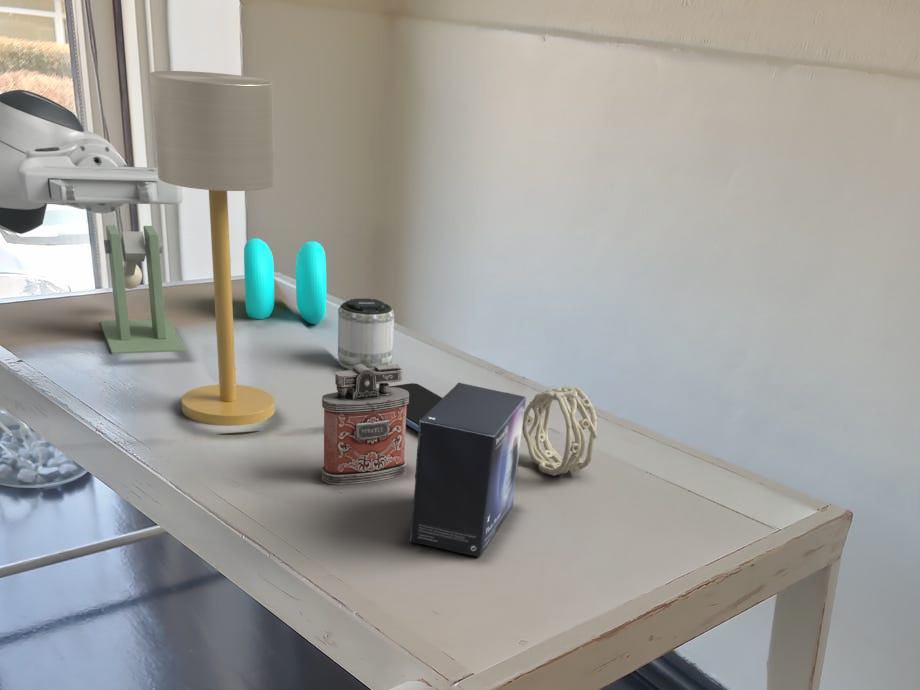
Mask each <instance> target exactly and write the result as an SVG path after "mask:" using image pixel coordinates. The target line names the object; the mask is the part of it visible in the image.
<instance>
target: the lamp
mask: <svg viewBox="0 0 920 690" xmlns="http://www.w3.org/2000/svg"><path fill="white" fill-rule="evenodd" d="M149 76H150V77H149V79H150V89H151V102H152V103H151V104H152V114H153V115H152V117H153V128H154V129H153V130H154V141H155V154H156V165H157V167H156V168H158V178H159V179H160V180H161V181H163V182H166V183H169V184H172V185H176V186H182V188H189V189H195V190H205V191H208V204H209V205H208V206H209V222H210V223H209V225H210V240H211V242H210V243H211V258H212V276H213V277H212V278H213V292H214V295H213V296H214V311H215V313H214V315H215V329H216V333H215V334H216V348H217V349H216V350H217V351H216V352H217V366H218V367H217V369H218V382H219V383H218V384H210V385H203V386H199V387H195V388H193V389H190V390H188V391H186V392H185V393H184V394H183V395H182V396H181V398H180V401H181V412H182V413H183V414H184V416H185V417H187V418H189V419H190V420H192V421H195V422H198V423H202V424H207V425H214V426H224V427H227V426H229V427H230V426H231V427H234V426H247V425H253V424H256V423H260V422H265V421H266V420H268V419H269V418H271V417H272V416H273V415H274V414H275V412H276V400H275V397H274V396H273V395H272V394H271V393H269V392H268V391H266V390H264V389H261V388H257V387H254V386H249V385H245V384H244V385H243V384H237V376H236V374H237V373H236V354H235V353H236V352H235V335H234V334H235V331H234V311H233V308H234V307H233V289H232V268H231V267H232V266H231V265H232V264H231V246H230V245H231V244H230V243H231V242H230V224H229V222H230V221H229V201H228V200H229V199H228V192H248V191H260V190H267V189H270V188H272V187H274V186H275V185H276V172H275V169H276V168H275V162H276V161H275V125H274V123H275V122H274V121H275V120H274V119H275V117H274V83H273V81H271V80H268V79H266V78H265V79H264V78H259V77H253V76H246V75H239V74H230V73H218V72H209V71H207V72H205V71H191V70H157V71H156V70H155V71H151V72H150V73H149ZM258 432H259V430H251V431H239V432H238V431H237V432H224V433H223V432H222V433H221V432H220V433H217V436H220V435H221V436H242V435H249V434H255V433H258Z"/></svg>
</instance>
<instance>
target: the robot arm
mask: <svg viewBox="0 0 920 690" xmlns="http://www.w3.org/2000/svg"><path fill="white" fill-rule="evenodd" d="M181 203H183V187H182V186H176V185H172V184H169V183H166V182H163V181H161V180H160V179H159V178H158V167H150V166H149V167H147V166H146V167H145V166H128V164H127V163H126V161H125V159H124V158H123V157H122V156H121V155H120V152H118V151H117V149H116V147H114V145H112V144H111V142H110V141H108V140H107V139H106V138H104V137H103V136H101V135H100V134H97V133H95V132H93V131H89V130H86V129H84V126H83V125H82V123H81V122H80V120H79V118H78V117H77V115H76V114H75V113H74V112H72V111H71V110H69V109H68V108H66V107H65V106H63V105H61V104H60V103H58V102H56V101H54V100H52V99H50V98H48V97H46V96H43V95H41V94H38V93H36V92H33V91H29V90H25V89H13V90H8V91H4V92H2V93H0V230H3V231H5V232H9V233H13V234H18V235H19V234H20V235H24V234H26V233H28V232H31V231H33V230H35V229H37V228H39V227H40V226H43V224H44V220H45V214H46V211H47V206H48V205H58V206H68V207H72V208H74V209H75V208H76V209H79V210H85V211H88V212H91V213H94V214H109V213H112V212H115V211H117V210H119V209H120V208H121V207H123V206H124V205H125V204H126V205H127V204H128V205H179V204H181Z"/></svg>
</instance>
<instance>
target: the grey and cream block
mask: <svg viewBox="0 0 920 690" xmlns="http://www.w3.org/2000/svg"><path fill="white" fill-rule="evenodd" d="M120 240H121V250H122V259H123V270H124V279H125V289H126V290H131V289H135V288H137V287H138V286H139V285H141V282H142V280H143V272H142V269H141V268H140V267H139V265H138V262H139V263H140V262H141V263H142V262H145V260H146V249H145V240H144V231H131V230H130V231H122V232H121V235H120Z"/></svg>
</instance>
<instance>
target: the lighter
mask: <svg viewBox="0 0 920 690" xmlns="http://www.w3.org/2000/svg"><path fill="white" fill-rule="evenodd" d="M334 374H335V375H334V376H335V379H334V381H335V385H336V391H335V392H330V393H326V394H324V395H322V397H321V407H322V409H323V466H322V468H321V479H322V481H323V482H325V483H327V484H329V485H340V486H341V485H355V484H363V483H372V482H373V483H374V482H377V481H378V482H379V481H383V480H388V479H392V478H396V477H400V476H404V475H405V474H406V465H407V464H406V463H407V461H406V460H405V449H406V448H405V446H406V445H405V444H406V426H407V425H406V407H407V404H408V403H409V392H408V391H406V390H405V389H401V388H396V387H389V386H390V384H389V383H398V382H402V381H403V368H402V367H401V365H399V364H391V365H384V366H375V368H372V369H368V368H367V367H366V366H364V365H362V364H357V365H355V366H354V367H353V369H352V370H350V371H345V370H341V371H335V373H334ZM377 384H378V387H377Z"/></svg>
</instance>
